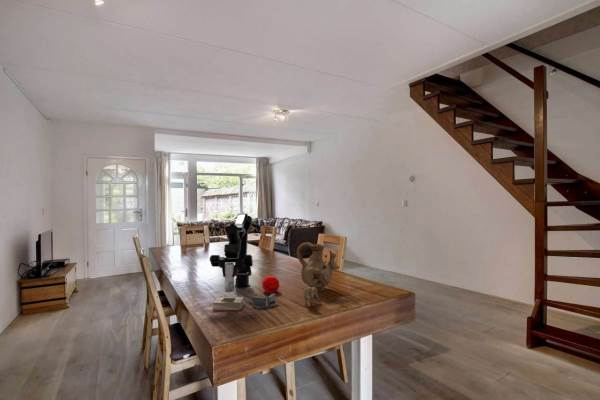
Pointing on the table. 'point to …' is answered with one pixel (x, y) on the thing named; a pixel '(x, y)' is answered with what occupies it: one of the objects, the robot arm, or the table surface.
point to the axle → (229, 277)
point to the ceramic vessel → (316, 266)
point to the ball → (270, 284)
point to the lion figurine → (310, 295)
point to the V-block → (263, 301)
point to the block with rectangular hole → (228, 303)
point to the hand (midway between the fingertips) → (228, 276)
